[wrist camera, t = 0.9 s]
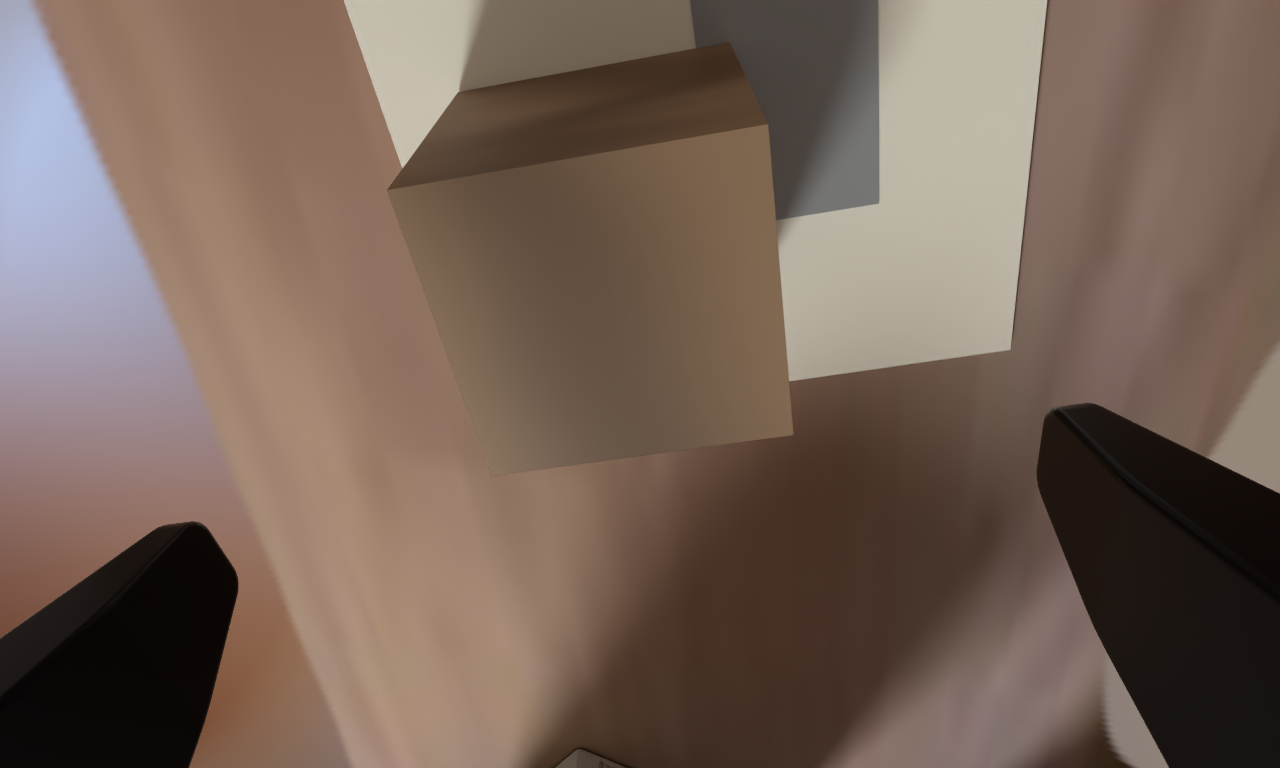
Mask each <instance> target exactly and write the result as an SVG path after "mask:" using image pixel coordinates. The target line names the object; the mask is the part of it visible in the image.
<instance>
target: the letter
mask: <svg viewBox="0 0 1280 768" xmlns="http://www.w3.org/2000/svg"><path fill="white" fill-rule="evenodd" d="M344 2H345V5H346V8H347V11H348V14H349V17H350V20H351V23H352V25H353V28H354V31H355V34H356V37H357V40H358V43H359V46H360V48H361V51H362V54H363V57H364V60H365V63H366V66H367V68H368V71H369V74H370V77H371V80H372V83H373V86H374V89H375V91H376V94H377V97H378V100H379V103H380V106H381V109H382V111H383V114H384V117H385V120H386V123H387V126H388V129H389V132H390V134H391V137H392V140H393V143H394V146H395V149H396V152H397V154H398V157H399V160H400V163H401V166H402V169H403V167H404V166H405V165H406V163H407V162H408V160H409V159H410V158H411V156H412V155H413V154H414V152H415V151H416V149H417V148H418V147H419V145H420V144H421V143H422V141H423V140H424V138H425V137H426V136H427V134H428V133H429V131H430V130H431V129H432V127H433V126H434V125H435V123H436V122H437V120H438V119H439V118H440V116H441V115H442V114H443V112H444V111H445V109H446V108H447V107H448V105H449V104H450V102H451V101H452V100H453V98H454V97H455V96H456V94H457V93H458V92H461V91H466V90H472V89H477V88H483V87H488V86H494V85H499V84H504V83H510V82H515V81H521V80H526V79H532V78H537V77H543V76H548V75H553V74H559V73H564V72H570V71H575V70H581V69H586V68H591V67H597V66H602V65H608V64H613V63H619V62H624V61H630V60H635V59H640V58H646V57H651V56H657V55H662V54H668V53H673V52H679V51H684V50H689V49H695V48H700V47H706V46H711V45H717V44H722V43H728V42H730V44H731V46H732V48H733V50H734V52H735V55H736V57H737V59H738V61H739V63H740V65H741V67H742V69H743V72H744V74H745V76H746V78H747V80H748V82H749V84H750V86H751V89H752V91H753V93H754V95H755V97H756V99H757V101H758V104H759V106H760V108H761V110H762V112H763V114H764V116H765V118H766V121H767V123H768V128H769V140H770V153H771V165H772V177H773V189H774V202H775V214H776V226H777V239H778V251H779V263H780V276H781V288H782V300H783V312H784V325H785V337H786V349H787V362H788V374H789V381H795V380H802V379H809V378H816V377H823V376H830V375H837V374H844V373H851V372H858V371H865V370H872V369H879V368H886V367H893V366H900V365H907V364H915V363H922V362H929V361H936V360H943V359H950V358H957V357H964V356H971V355H978V354H985V353H992V352H999V351H1006V350H1010V349H1011V339H1012V330H1013V320H1014V311H1015V301H1016V292H1017V282H1018V273H1019V263H1020V254H1021V245H1022V235H1023V226H1024V216H1025V207H1026V197H1027V188H1028V178H1029V169H1030V159H1031V150H1032V140H1033V131H1034V121H1035V112H1036V102H1037V93H1038V83H1039V74H1040V64H1041V55H1042V45H1043V36H1044V26H1045V17H1046V7H1047V0H344Z"/></svg>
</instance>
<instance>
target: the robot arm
mask: <svg viewBox="0 0 1280 768" xmlns="http://www.w3.org/2000/svg"><path fill="white" fill-rule="evenodd" d="M1037 482H1038V487H1039V491H1040V494H1041V497H1042V499H1043V502H1044V504H1045V507H1046V509H1047V512H1048V515H1049V517H1050V520H1051V522H1052V525H1053V527H1054V530H1055V532H1056V535H1057V537H1058V540H1059V542H1060V545H1061V547H1062V550H1063V552H1064V555H1065V557H1066V560H1067V562H1068V565H1069V567H1070V570H1071V572H1072V575H1073V577H1074V580H1075V582H1076V585H1077V587H1078V590H1079V592H1080V595H1081V597H1082V600H1083V603H1084V605H1085V607H1086V610H1087V612H1088V614H1089V617H1090V619H1091V621H1092V624H1093V626H1094V628H1095V630H1096V632H1097V634H1098V636H1099V638H1100V640H1101V642H1102V644H1103V646H1104V648H1105V650H1106V652H1107V654H1108V655H1109V657H1110V659H1111V661H1112V663H1113V665H1114V666H1115V668H1116V670H1117V672H1118V674H1119V676H1120V677H1121V679H1122V681H1123V683H1124V685H1125V687H1126V689H1127V690H1128V692H1129V694H1130V696H1131V698H1132V699H1133V701H1134V703H1135V705H1136V707H1137V709H1138V711H1139V713H1140V714H1141V716H1142V718H1143V720H1144V722H1145V724H1146V726H1147V728H1148V729H1149V731H1150V733H1151V735H1152V737H1153V739H1154V740H1155V742H1156V744H1157V746H1158V748H1159V750H1160V752H1161V753H1162V755H1163V757H1164V759H1165V761H1166V763H1167V765H1168V766H1169V768H1280V494H1279V493H1277V492H1275V491H1273V490H1271V489H1269V488H1267V487H1265V486H1263V485H1261V484H1259V483H1257V482H1255V481H1253V480H1250V479H1249V478H1246V477H1244V476H1242V475H1240V474H1238V473H1236V472H1234V471H1232V470H1230V469H1228V468H1226V467H1224V466H1222V465H1220V464H1218V463H1216V462H1214V461H1212V460H1210V459H1208V458H1206V457H1204V456H1202V455H1199V454H1197V453H1195V452H1193V451H1191V450H1189V449H1187V448H1185V447H1183V446H1181V445H1179V444H1177V443H1175V442H1173V441H1171V440H1169V439H1167V438H1165V437H1163V436H1161V435H1159V434H1156V433H1154V432H1152V431H1150V430H1148V429H1146V428H1144V427H1142V426H1140V425H1138V424H1136V423H1134V422H1132V421H1130V420H1128V419H1126V418H1124V417H1122V416H1120V415H1118V414H1116V413H1114V412H1111V411H1109V410H1107V409H1105V408H1103V407H1101V406H1099V405H1096V404H1093V403H1083V404H1076V405H1068V406H1060V407H1055V408H1052V409H1051V410H1049V411H1048V412H1047V414H1046V416H1045V419H1044V423H1043V430H1042V437H1041V444H1040V451H1039V458H1038V465H1037ZM237 594H238V577H237V574H236V571H235V569H234V567H233V566H232V564H231V563H230V561H229V560H228V558H227V557H226V555H225V554H224V552H223V551H222V549H221V548H220V546H219V545H218V543H217V542H216V540H215V539H214V537H213V536H212V534H211V533H210V531H209V530H208V529H207V527H206V526H204V525H203V524H201V523H199V522H193V521H191V522H184V523H176V524H168V525H164V526H161V527H158V528H156V529H155V530H153V531H152V532H150V533H149V534H148V535H146V536H145V537H143V538H142V539H141V540H139V541H138V542H136V543H135V544H134V545H132V546H131V547H129V548H128V549H126V550H125V551H124V552H122V553H121V554H119V555H118V556H117V557H115V558H114V559H112V560H111V561H109V562H108V563H107V564H105V565H104V566H102V567H101V568H99V569H98V570H97V571H95V572H94V573H92V574H91V575H90V576H88V577H87V578H85V579H84V580H83V581H81V582H80V583H78V584H77V585H76V586H74V587H73V588H71V589H70V590H68V591H67V592H66V593H64V594H63V595H61V596H60V597H58V598H57V599H56V600H54V601H53V602H51V603H50V604H49V605H47V606H46V607H44V608H43V609H41V610H40V611H39V612H37V613H36V614H34V615H33V616H32V617H30V618H29V619H27V620H26V621H24V622H23V623H22V624H20V625H19V626H17V627H16V628H15V629H13V630H12V631H10V632H9V633H8V634H6V635H5V636H3V637H2V638H0V768H189V766H190V763H191V760H192V758H193V755H194V752H195V749H196V747H197V744H198V741H199V738H200V735H201V732H202V729H203V726H204V723H205V719H206V716H207V712H208V709H209V705H210V702H211V698H212V694H213V690H214V686H215V682H216V678H217V674H218V670H219V666H220V662H221V658H222V654H223V650H224V646H225V642H226V638H227V634H228V630H229V626H230V622H231V618H232V614H233V610H234V606H235V602H236V598H237Z"/></svg>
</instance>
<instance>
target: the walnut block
mask: <svg viewBox="0 0 1280 768" xmlns="http://www.w3.org/2000/svg"><path fill="white" fill-rule="evenodd" d="M387 192H388V194H389V197H390V200H391V203H392V205H393V208H394V211H395V214H396V216H397V219H398V222H399V225H400V227H401V230H402V233H403V236H404V238H405V241H406V244H407V246H408V249H409V252H410V255H411V257H412V260H413V263H414V266H415V268H416V271H417V274H418V277H419V279H420V282H421V285H422V287H423V290H424V293H425V296H426V298H427V301H428V304H429V307H430V309H431V312H432V315H433V318H434V320H435V323H436V326H437V328H438V331H439V334H440V337H441V339H442V342H443V345H444V348H445V350H446V353H447V356H448V359H449V361H450V364H451V367H452V370H453V372H454V375H455V378H456V380H457V383H458V386H459V389H460V391H461V394H462V397H463V400H464V402H465V405H466V408H467V411H468V413H469V416H470V419H471V421H472V424H473V427H474V430H475V432H476V435H477V438H478V441H479V443H480V446H481V449H482V452H483V454H484V457H485V460H486V462H487V465H488V468H489V471H490V473H491V476H496V475H504V474H511V473H518V472H526V471H533V470H540V469H548V468H555V467H562V466H570V465H577V464H584V463H592V462H599V461H606V460H614V459H621V458H628V457H636V456H643V455H650V454H658V453H665V452H672V451H680V450H687V449H694V448H702V447H709V446H716V445H724V444H731V443H738V442H746V441H753V440H760V439H768V438H775V437H782V436H790V435H793V423H792V411H791V399H790V386H789V374H788V362H787V349H786V337H785V325H784V312H783V300H782V288H781V276H780V263H779V251H778V239H777V226H776V214H775V202H774V189H773V177H772V165H771V153H770V140H769V128H768V123H767V121H766V118H765V116H764V114H763V112H762V110H761V108H760V106H759V104H758V101H757V99H756V97H755V95H754V93H753V91H752V89H751V86H750V84H749V82H748V80H747V78H746V76H745V74H744V72H743V69H742V67H741V65H740V63H739V61H738V59H737V57H736V55H735V52H734V50H733V48H732V46H731V44H730V42H728V43H722V44H717V45H711V46H706V47H700V48H695V49H689V50H684V51H679V52H673V53H668V54H662V55H657V56H651V57H646V58H640V59H635V60H630V61H624V62H619V63H613V64H608V65H602V66H597V67H591V68H586V69H581V70H575V71H570V72H564V73H559V74H553V75H548V76H543V77H537V78H532V79H526V80H521V81H515V82H510V83H504V84H499V85H494V86H488V87H483V88H477V89H472V90H466V91H461V92H458V93H457V94H456V96H455V97H454V98H453V100H452V101H451V102H450V104H449V105H448V107H447V108H446V109H445V111H444V112H443V114H442V115H441V116H440V118H439V119H438V120H437V122H436V123H435V125H434V126H433V127H432V129H431V130H430V131H429V133H428V134H427V136H426V137H425V138H424V140H423V141H422V143H421V144H420V145H419V147H418V148H417V149H416V151H415V152H414V154H413V155H412V156H411V158H410V159H409V160H408V162H407V163H406V165H405V166H404V167H403V169H402V170H401V172H400V173H399V174H398V176H397V177H396V178H395V180H394V181H393V183H392V184H391V185H390V187H389V188H388V190H387Z"/></svg>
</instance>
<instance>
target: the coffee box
mask: <svg viewBox="0 0 1280 768" xmlns="http://www.w3.org/2000/svg"><path fill="white" fill-rule="evenodd" d="M555 768H627V767H624V766H622V765H619V764H617V763H614V762H612V761H610V760H607V759H605V758H602V757H600V756H597V755H595V754H592V753H590V752H588V751H585V750H582V749H578V750H575V751H574V752H573V753H572V754H571V755H570V756H568V757H567V758H566V759H565V760H564V761H562V762H561V763H560V764H559V765H558V766H556V767H555Z"/></svg>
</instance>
